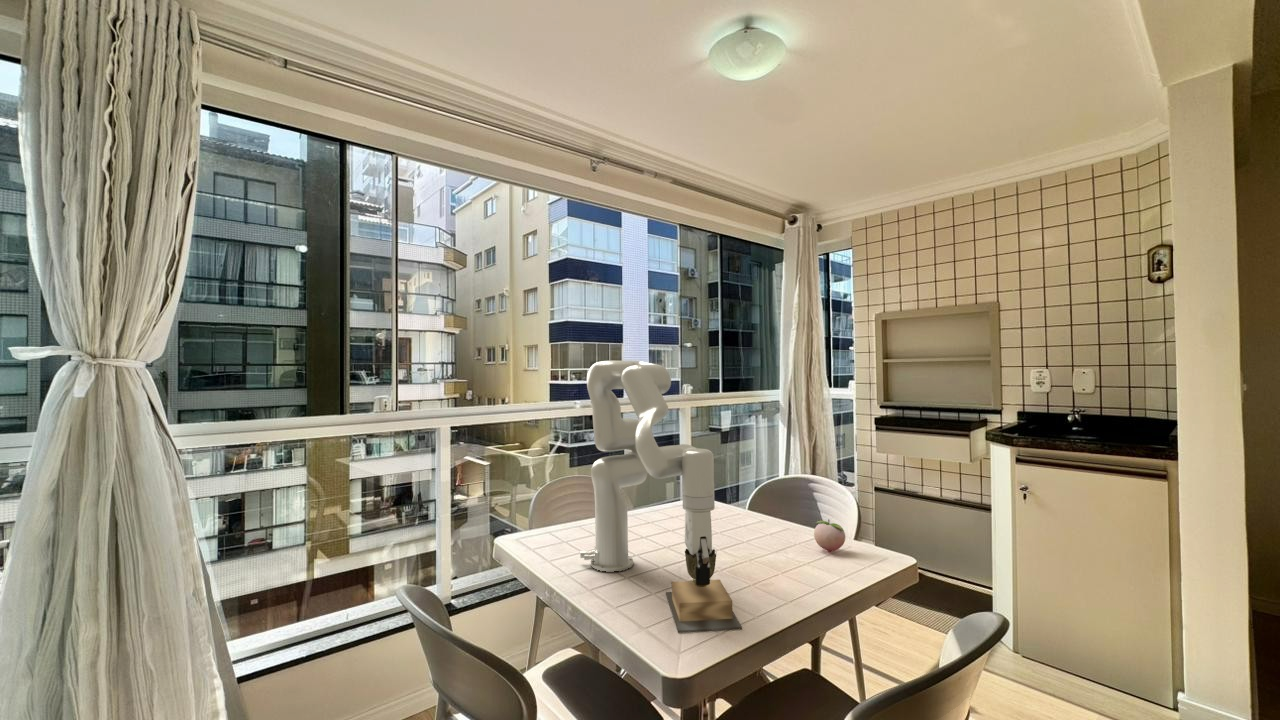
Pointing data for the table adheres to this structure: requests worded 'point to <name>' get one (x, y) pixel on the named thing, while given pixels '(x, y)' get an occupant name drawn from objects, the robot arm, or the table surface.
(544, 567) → the table surface
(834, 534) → the decorative fruit
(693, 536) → the robot arm
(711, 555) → the cup
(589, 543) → the table surface
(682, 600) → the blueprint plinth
